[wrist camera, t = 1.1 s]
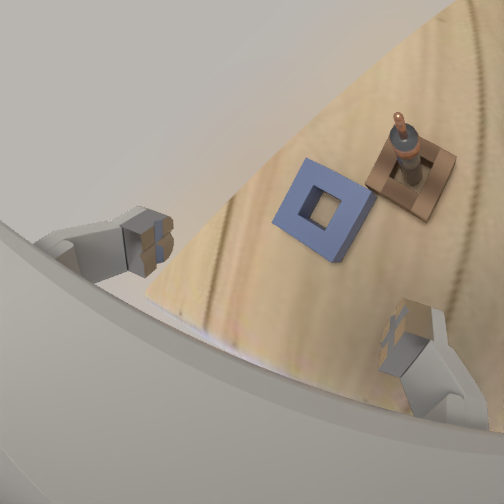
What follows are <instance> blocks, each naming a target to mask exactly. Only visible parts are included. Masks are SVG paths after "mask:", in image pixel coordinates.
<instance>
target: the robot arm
mask: <svg viewBox="0 0 504 504" xmlns="http://www.w3.org/2000/svg"><path fill="white" fill-rule="evenodd" d="M172 230H173V219H172V218H171V217H169V216H167V215H164V214H161V213H158V212H156V211H153V210H150V209H148V208H145V207H142V206H136V207H134V208H132V209H131V210H129V211H127V212H125V213H124V214H122V215H120V216H119V217H117V218H115V219H114V220H112V221H110V222H108V221H104V222H98V223H93V224H88V225H82V226H77V227H72V228H67V229H62V230H57V231H53V232H51V233H50V234H48V235H46V236H45V237H43V238H41V239H40V240H38V241H37V242H35V243H34V244H31V243H30V242H29V241H27V240H26V239H25V238H23V237H22V236H20V235H19V234H18V233H16V232H15V231H14V230H12V229H11V228H10V227H8V226H7V225H6V224H4V223H3V222H2V221H0V504H504V433H501V432H494V431H489V423H488V408H487V400H486V399H485V397H484V395H483V394H482V392H481V390H480V389H479V387H478V386H477V384H476V382H475V381H474V379H473V378H472V376H471V375H470V373H469V372H468V370H467V368H466V367H465V365H464V364H463V362H462V361H461V360H460V358H459V357H458V355H457V354H456V352H455V351H454V349H453V348H452V347H450V346H448V338H447V330H446V323H445V316H444V312H443V311H442V310H440V309H437V308H433V307H430V306H426V305H423V304H420V303H417V302H414V301H411V300H408V299H405V298H401V300H400V301H399V302H398V304H397V306H396V314H395V315H393V316H391V317H390V318H389V320H388V322H387V324H386V326H385V329H384V331H383V335H382V339H381V345H382V347H383V350H382V351H381V353H380V355H379V363H378V371H381V372H384V373H387V374H390V375H393V376H396V377H399V378H400V380H401V383H402V385H403V388H404V391H405V393H406V396H407V399H408V401H409V404H410V407H411V409H412V412H413V415H414V416H410V415H406V414H402V413H398V412H394V411H391V410H387V409H383V408H379V407H376V406H372V405H369V404H365V403H362V402H359V401H355V400H352V399H349V398H346V397H342V396H339V395H336V394H333V393H330V392H327V391H324V390H321V389H318V388H315V387H313V386H310V385H307V384H304V383H301V382H299V381H296V380H293V379H291V378H288V377H285V376H283V375H280V374H278V373H275V372H272V371H270V370H267V369H265V368H262V367H260V366H258V365H255V364H253V363H250V362H248V361H246V360H243V359H241V358H238V357H236V356H234V355H231V354H229V353H227V352H225V351H222V350H220V349H218V348H215V347H213V346H211V345H209V344H207V343H205V342H203V341H200V340H198V339H196V338H194V337H192V336H190V335H187V334H186V333H184V332H182V331H179V330H178V329H176V328H174V327H172V326H170V325H168V324H166V323H164V322H162V321H160V320H157V319H156V318H154V317H152V316H150V315H148V314H146V313H144V312H142V311H141V310H139V309H137V308H135V307H133V306H132V305H129V304H128V303H126V302H124V301H123V300H121V299H119V298H117V297H115V296H114V295H112V294H110V293H109V292H107V291H105V290H103V289H101V288H100V287H98V286H97V285H95V284H94V283H97V282H100V281H102V280H105V279H108V278H111V277H113V276H116V275H119V274H122V273H124V272H127V270H128V271H130V272H132V273H135V274H137V275H139V276H141V277H143V278H146V277H147V276H148V275H149V274H151V273H152V272H153V271H154V270H155V269H156V268H157V264H158V263H162V262H165V261H166V260H167V259H168V258H169V256H170V254H171V253H172V250H173V246H174V239H173V237H172V235H171V233H170V232H171V231H172Z"/></svg>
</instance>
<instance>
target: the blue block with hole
mask: <svg viewBox="0 0 504 504" xmlns="http://www.w3.org/2000/svg"><path fill="white" fill-rule="evenodd" d="M323 191H325V192H327V193H329V194H330V195H332V196H334V197H336V198H337V199H339V200H341V203H340V205H339V207H338V208H337V210H336V212H335V214H334V216H333V217H332V219H331V221H330V223H329V225H328V226H327V228H325V227H323V226H321V225H320V224H318V223H317V222H315V221H313V220H312V219H310V218H309V217H310V215H311V214H312V212H313V210H314V208H315V206H316V204H317V202H318V201H319V199H320V197H321V195H322V193H323ZM376 198H377V197H376V196H375V195H374V194H373V192H372V191H370V190H368V189H366V188H365V187H363V186H361V185H359V184H357V183H355V182H353V181H352V180H350V179H348V178H346V177H344V176H342V175H340V174H338V173H336V172H334V171H332V170H330V169H328V168H326V167H324V166H322V165H320V164H318V163H316V162H314V161H312V160H310V159H308V158H306V159H305V160H304V162H303V164H302V166H301V168H300V170H299V172H298V174H297V176H296V178H295V179H294V181H293V183H292V185H291V187H290V189H289V191H288V193H287V195H286V196H285V198H284V200H283V202H282V204H281V206H280V208H279V210H278V212H277V213H276V215H275V217H274V219H273V221H272V223H273V224H274V225H276V226H277V227H279V228H281V229H282V230H284V231H285V232H287V233H288V234H290V235H291V236H293V237H294V238H296V239H297V240H299V241H300V242H302V243H303V244H305V245H306V246H308V247H309V248H311V249H312V250H314V251H315V252H317V253H318V254H320V255H321V256H323V257H324V258H326V259H327V260H329V261H330V262H332V263H333V262H341V261H342V259H343V257H344V255H345V254H346V252H347V250H348V249H349V247H350V245H351V243H352V242H353V240H354V238H355V236H356V235H357V233H358V231H359V229H360V228H361V226H362V224H363V222H364V220H365V219H366V217H367V215H368V213H369V211H370V210H371V208H372V206H373V204H374V202H375V200H376Z"/></svg>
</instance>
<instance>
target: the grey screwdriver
mask: <svg viewBox="0 0 504 504" xmlns="http://www.w3.org/2000/svg"><path fill="white" fill-rule="evenodd" d="M393 117H394V121H395V124H396V125H395V126H394V127H393V128H392V129H391V131H390V136H389V139H390V143H391V146H392V148H393V151H394V153H395V154H396V157H397V159H398V162H399V165H400V168H401V171H402V174H403V177H404V180H405V182H406V183H407V184H409V185H412V186H415V185H418V184H419V183H420V182H421V180H422V169H421V159H420V151H419V150H420V142H419V136H418V133H417V132H416V130H415V129H414V128H413V127H412V126H411V125H409V124H406V123H405V121H404V117H403V115H402V114H401V113H400V112H396V113H395V114H394V116H393Z"/></svg>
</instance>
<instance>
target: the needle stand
mask: <svg viewBox="0 0 504 504" xmlns="http://www.w3.org/2000/svg"><path fill="white" fill-rule="evenodd" d="M394 126H395V125H394ZM394 126H393V127H394ZM389 136H390V135H389ZM419 142H420V150H419V151H420V159H421V163H422V164H424V165H426V166H428V167H430V168H431V171H430V173H429V175H428V177H427V179H426V181H425V183H424V185H423V187H422V189H421V191H420V193H417V192H415V191H413V190H412V189H410V188H408V187H406V186H405V185H403V184H401V183H399V182H398V181H396V180H394V179H393V178H394V176H395V174H396V172H397V170H398V168H399V166H400V165H399V162H398V159H397V157H396V154H395V153H394V151H393V148H392V146H391V143H390V139H389V137H388V139H387V141H386V143H385V145H384V147H383V149H382V151H381V153H380V155H379V157H378V159H377V161H376V163H375V165H374V167H373V169H372V171H371V173H370V175H369V177H368V179H367V180H366V182H365V185H366V186H367V187H368V188H369V189H370V190H372V191H374V192H376V193H377V194H379V195H381V196H383V197H384V198H386V199H388V200H390V201H391V202H393V203H395V204H396V205H398V206H400V207H401V208H403V209H405V210H406V211H408V212H410V213H411V214H413V215H415V216H416V217H418V218H419V219H421V220H423V221H424V222H426V223H427V221H428V219H429V218H430V216H431V214H432V212H433V210H434V208H435V206H436V204H437V202H438V200H439V198H440V196H441V193H442V191H443V189H444V187H445V185H446V183H447V181H448V178H449V176H450V174H451V172H452V169H453V167H454V165H455V162H456V158H457V156H455V155H453V154H451V153H450V152H448V151H446V150H444V149H442V148H441V147H439V146H437V145H435V144H433V143H431V142H429V141H427V140H425V139H423V138H421V137H419Z"/></svg>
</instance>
